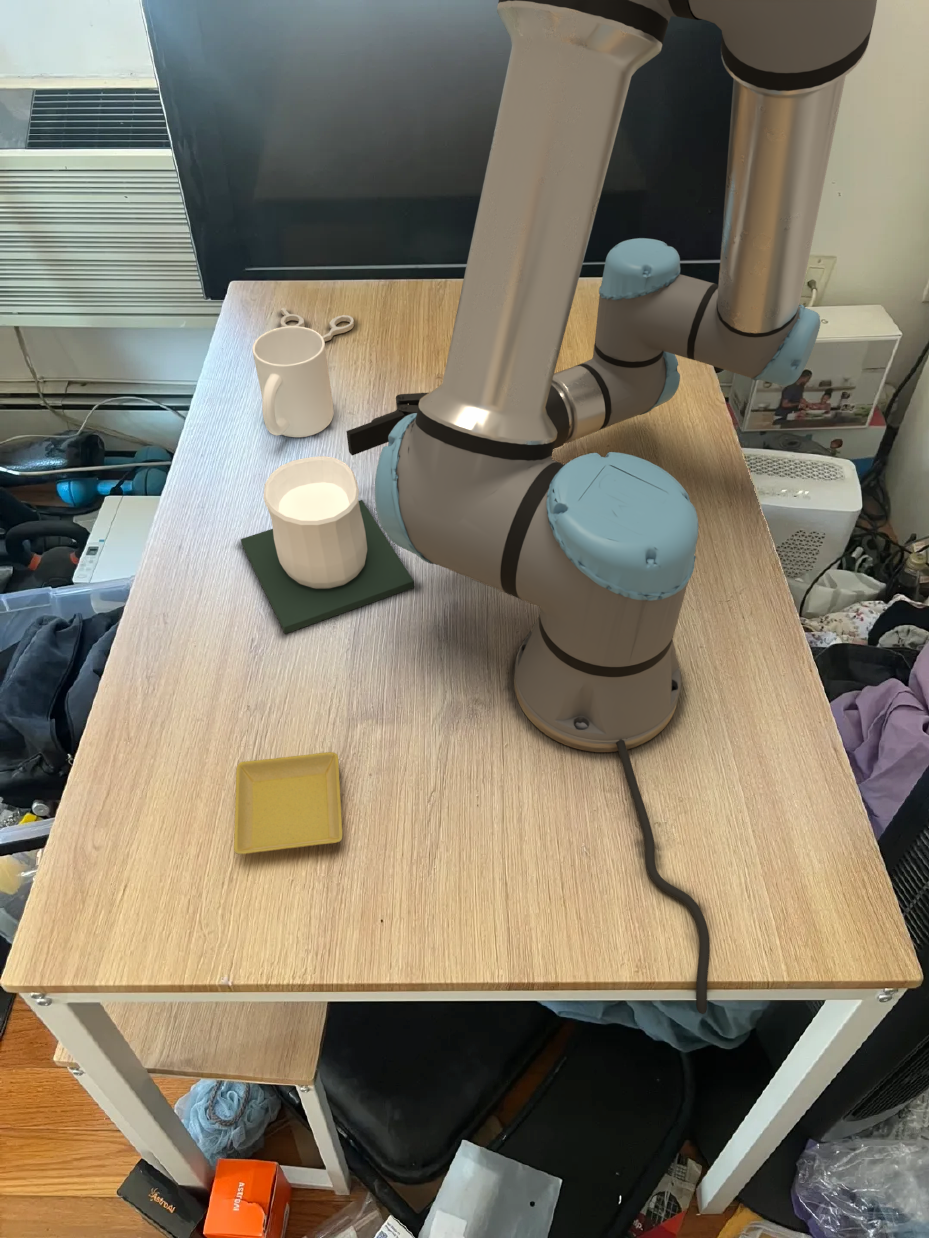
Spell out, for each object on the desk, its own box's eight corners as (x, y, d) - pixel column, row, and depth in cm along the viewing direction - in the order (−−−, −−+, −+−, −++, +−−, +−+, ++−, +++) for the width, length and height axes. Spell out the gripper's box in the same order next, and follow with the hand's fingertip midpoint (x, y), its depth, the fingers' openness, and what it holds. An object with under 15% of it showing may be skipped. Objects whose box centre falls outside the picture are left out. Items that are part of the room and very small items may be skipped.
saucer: (340, 763, 80) (338, 749, 78) (345, 853, 74) (342, 840, 73) (240, 774, 79) (236, 761, 78) (238, 866, 73) (233, 854, 72)
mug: (305, 464, 107) (292, 390, 99) (241, 451, 109) (224, 376, 101) (344, 405, 114) (335, 332, 107) (284, 394, 116) (271, 321, 108)
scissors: (356, 309, 128) (334, 392, 115) (356, 314, 128) (335, 397, 115) (281, 307, 128) (251, 389, 115) (282, 312, 129) (252, 395, 116)
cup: (326, 513, 100) (315, 442, 92) (391, 556, 95) (384, 484, 88) (258, 559, 95) (241, 488, 88) (323, 607, 91) (310, 536, 83)
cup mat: (414, 587, 94) (414, 581, 93) (284, 634, 90) (283, 627, 89) (362, 506, 102) (361, 499, 101) (242, 545, 98) (240, 538, 97)
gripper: (619, 503, 95) (444, 581, 87) (489, 385, 109) (329, 443, 101) (629, 445, 89) (442, 523, 82) (490, 328, 103) (321, 386, 96)
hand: (379, 479), depth 92 cm, fingers open, 13 cm apart
